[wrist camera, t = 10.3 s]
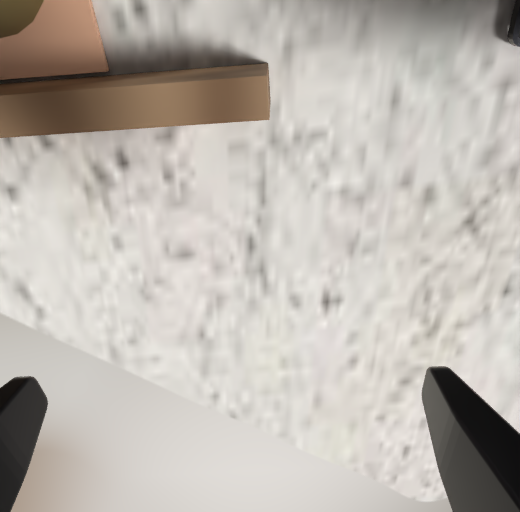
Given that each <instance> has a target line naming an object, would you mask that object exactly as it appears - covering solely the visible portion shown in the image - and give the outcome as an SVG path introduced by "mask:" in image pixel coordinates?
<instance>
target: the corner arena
mask: <svg viewBox="0 0 520 512" xmlns="http://www.w3.org/2000/svg"><path fill="white" fill-rule="evenodd" d="M107 71H109V67H108V63H107V59H106V55H105V51H104V48H103V44H102V40H101V36H100V32H99V28H98V24H97V21H96V17H95V13H94V9H93V5H92V1H91V0H44V1H43V3H42V5H41V7H40V9H39V11H38V13H37V15H36V17H35V19H34V21H33V22H32V23H31V24H29V25H28V26H27V27H26V28H24V29H23V30H22V31H21V32H19V33H18V34H16V35H12V36H8V37H4V38H0V80H6V79H18V78H31V77H44V76H57V75H70V74H82V73H95V72H107ZM269 117H270V87H269V70H268V63H263V64H250V65H237V66H224V67H211V68H199V69H186V70H173V71H160V72H147V73H134V74H121V75H108V76H95V77H82V78H69V79H57V80H44V81H31V82H18V83H5V84H0V138H6V137H20V136H35V135H50V134H65V133H80V132H94V131H109V130H124V129H139V128H154V127H169V126H183V125H198V124H213V123H228V122H243V121H258V120H269Z"/></svg>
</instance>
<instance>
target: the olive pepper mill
mask: <svg viewBox="0 0 520 512" xmlns="http://www.w3.org/2000/svg"><path fill="white" fill-rule="evenodd" d="M43 1H44V0H0V38H4V37H8V36H12V35H16V34H18V33H19V32H21V31H22V30H23V29H24V28H26V27H27V26H28V25H29V24H31V23H32V22H33V21H34V19H35V17H36V15H37V13H38V11H39V9H40V7H41V5H42V3H43Z"/></svg>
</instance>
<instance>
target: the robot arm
mask: <svg viewBox="0 0 520 512" xmlns="http://www.w3.org/2000/svg"><path fill="white" fill-rule="evenodd" d="M519 33H520V0H516V2H515V6H514V10H513V14H512V19H511V23H510V27H509V31H508V40H509V42H510V43H511V44H512V45H514V46H519V47H520V37H519ZM422 401H423V405H424V410H425V414H426V418H427V423H428V427H429V431H430V436H431V440H432V444H433V449H434V453H435V457H436V461H437V465H438V469H439V473H440V476H441V479H442V482H443V485H444V488H445V491H446V493H447V496H448V499H449V502H450V505H451V508H452V510H453V512H520V433H518V432H517V431H516V430H515V429H514V428H513V427H512V426H511V425H510V424H509V423H508V422H507V421H506V420H505V419H504V418H502V417H501V416H500V415H499V414H498V413H497V412H496V411H495V410H494V409H493V408H492V407H491V406H490V405H489V404H487V403H486V402H485V401H484V400H483V399H482V398H481V397H480V396H479V395H478V394H477V393H476V392H475V391H474V390H472V389H471V388H470V387H469V386H468V385H467V384H466V383H465V382H464V381H463V380H462V379H461V378H460V377H459V376H458V375H456V374H455V373H454V372H453V371H452V370H451V369H450V368H448V367H445V366H439V367H429V368H428V369H427V371H426V375H425V379H424V384H423V388H422ZM47 405H48V401H47V397H46V395H45V393H44V392H43V390H42V388H41V387H40V385H39V383H38V381H37V380H36V379H35V378H34V377H31V376H27V377H15V378H13V379H12V380H10V381H9V382H8V383H6V384H5V385H4V386H3V387H1V388H0V512H11V509H12V507H13V504H14V502H15V500H16V497H17V495H18V493H19V490H20V488H21V486H22V483H23V481H24V478H25V475H26V473H27V470H28V467H29V464H30V461H31V458H32V455H33V452H34V448H35V445H36V442H37V439H38V436H39V433H40V429H41V426H42V423H43V420H44V417H45V413H46V410H47Z"/></svg>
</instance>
